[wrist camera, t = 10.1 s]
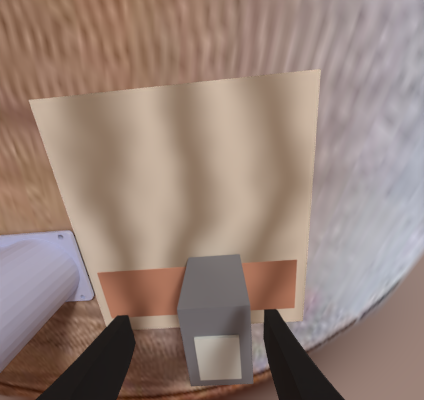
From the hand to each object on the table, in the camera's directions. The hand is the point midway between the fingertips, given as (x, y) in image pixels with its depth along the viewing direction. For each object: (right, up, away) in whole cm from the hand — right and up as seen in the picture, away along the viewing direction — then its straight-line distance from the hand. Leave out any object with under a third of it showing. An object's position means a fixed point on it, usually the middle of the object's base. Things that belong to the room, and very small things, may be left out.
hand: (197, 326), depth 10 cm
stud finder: (+1, -2, +10) cm, 10 cm away
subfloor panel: (-1, +4, +8) cm, 9 cm away
